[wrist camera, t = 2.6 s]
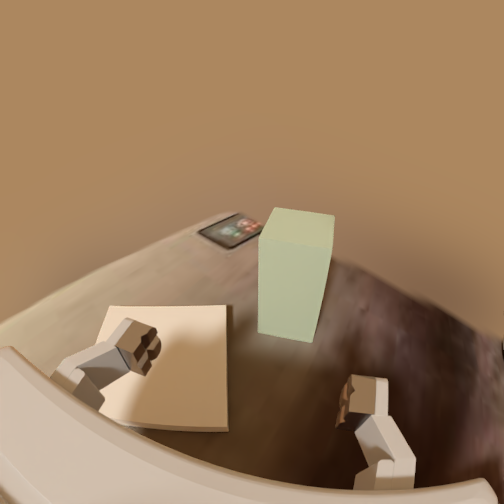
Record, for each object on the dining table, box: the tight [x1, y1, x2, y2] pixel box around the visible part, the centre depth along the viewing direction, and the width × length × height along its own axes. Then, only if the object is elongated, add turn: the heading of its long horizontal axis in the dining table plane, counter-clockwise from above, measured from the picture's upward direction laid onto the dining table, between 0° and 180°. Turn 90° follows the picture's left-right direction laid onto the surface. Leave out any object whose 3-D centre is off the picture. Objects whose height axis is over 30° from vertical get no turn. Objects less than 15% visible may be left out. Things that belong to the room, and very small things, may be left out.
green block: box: [258, 208, 335, 343], centre depth 23 cm, size 5×5×10 cm
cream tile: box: [95, 305, 229, 432], centre depth 21 cm, size 12×12×1 cm
